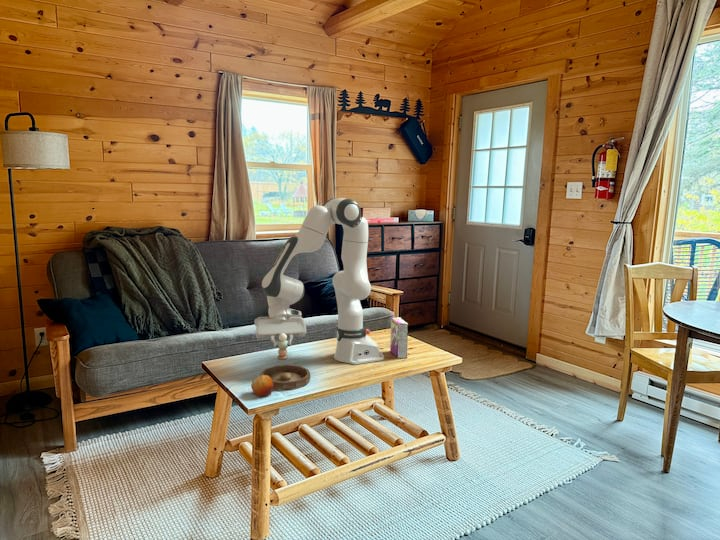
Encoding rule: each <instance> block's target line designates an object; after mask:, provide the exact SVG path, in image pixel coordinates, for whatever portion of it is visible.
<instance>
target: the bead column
mask: <svg viewBox="0 0 720 540" xmlns="http://www.w3.org/2000/svg"><path fill="white" fill-rule="evenodd" d="M287 338H288V337H287V336H286V334H284V333H281V334H280V335H279V338H278V340H277V341H278V347H277V349H278V351H277V353H278V354H277V360H279V361H286V360H288V358H289V357H288V350H287V348H288V346H287V345H288V341H289V340H287Z"/></svg>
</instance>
